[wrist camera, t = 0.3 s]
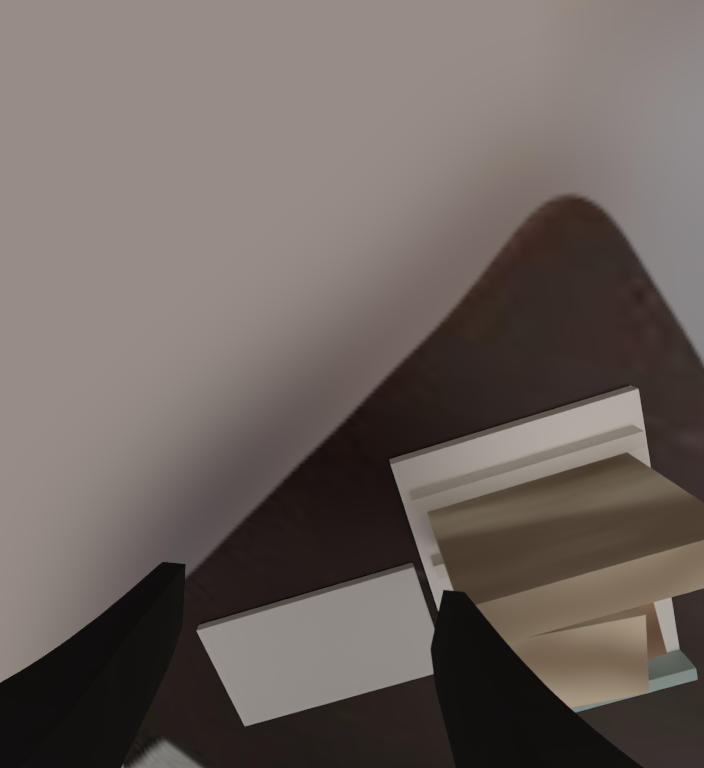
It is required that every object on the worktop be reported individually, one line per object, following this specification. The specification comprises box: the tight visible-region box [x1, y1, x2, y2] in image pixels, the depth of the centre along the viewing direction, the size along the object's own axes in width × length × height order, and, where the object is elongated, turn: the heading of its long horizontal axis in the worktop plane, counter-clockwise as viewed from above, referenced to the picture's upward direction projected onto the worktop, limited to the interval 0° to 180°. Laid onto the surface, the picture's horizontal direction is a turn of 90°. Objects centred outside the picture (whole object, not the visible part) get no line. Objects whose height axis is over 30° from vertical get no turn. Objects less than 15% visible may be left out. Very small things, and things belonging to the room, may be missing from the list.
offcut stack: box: [507, 602, 667, 708], centre depth 23 cm, size 6×9×2 cm, turn 108°
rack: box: [389, 385, 697, 712], centre depth 23 cm, size 17×12×2 cm
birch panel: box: [427, 452, 704, 643], centre depth 19 cm, size 2×10×6 cm, turn 108°
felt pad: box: [197, 562, 435, 726], centre depth 25 cm, size 7×12×1 cm, turn 108°
